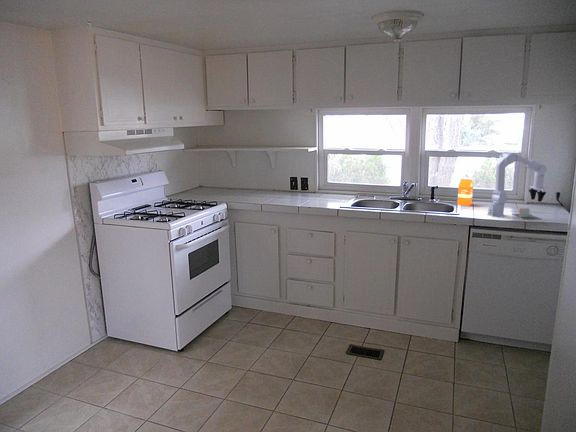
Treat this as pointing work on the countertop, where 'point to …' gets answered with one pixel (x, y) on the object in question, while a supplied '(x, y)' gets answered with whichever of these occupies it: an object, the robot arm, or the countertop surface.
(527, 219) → the mat
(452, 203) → the countertop surface
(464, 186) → the orange juice
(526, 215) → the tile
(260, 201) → the countertop surface
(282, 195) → the countertop surface
